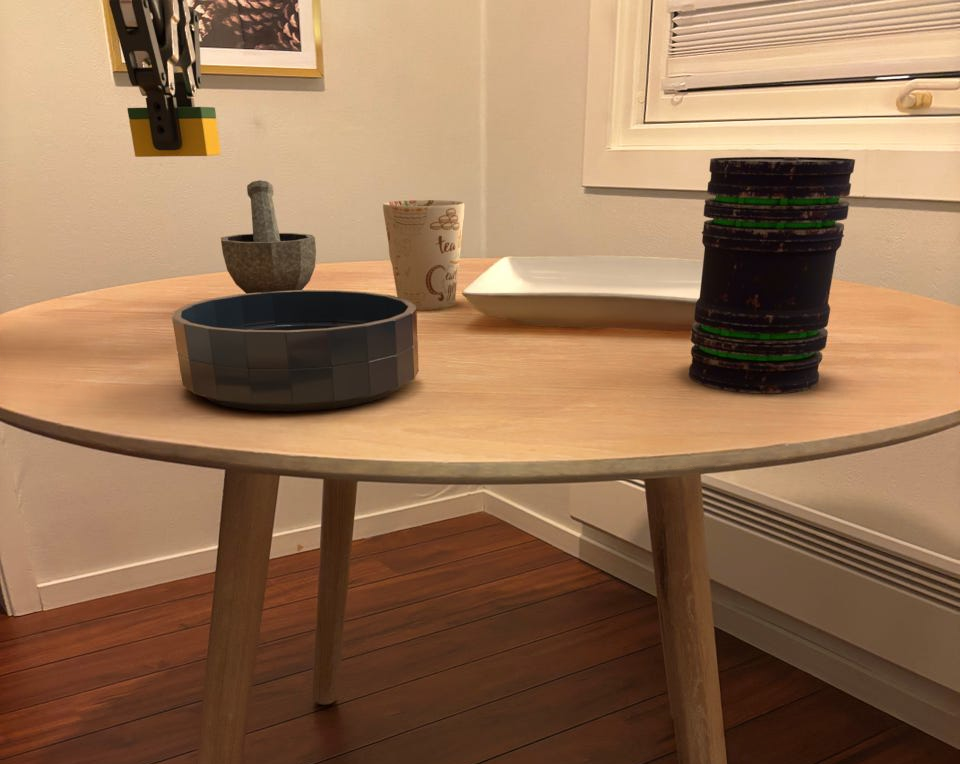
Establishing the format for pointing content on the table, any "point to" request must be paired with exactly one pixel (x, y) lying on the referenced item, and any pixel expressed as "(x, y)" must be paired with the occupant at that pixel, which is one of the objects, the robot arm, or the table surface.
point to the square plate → (591, 291)
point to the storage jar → (768, 271)
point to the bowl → (297, 348)
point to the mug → (425, 250)
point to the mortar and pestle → (268, 250)
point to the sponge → (194, 128)
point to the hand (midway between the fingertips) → (177, 147)
